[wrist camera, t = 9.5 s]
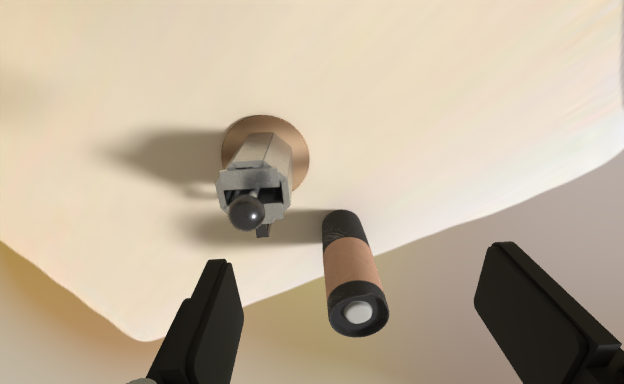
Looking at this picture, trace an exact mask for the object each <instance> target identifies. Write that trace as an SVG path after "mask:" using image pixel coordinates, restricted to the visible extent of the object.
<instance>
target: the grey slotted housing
mask: <svg viewBox="0 0 624 384" xmlns="http://www.w3.org/2000/svg"><path fill="white" fill-rule="evenodd" d="M261 166H262V167H261ZM245 167H258V168H245ZM219 174H220V177H219V178H218V180H217V181H216V183H215V186H216V190H217V194H218V198H219V203H220V207H221V209H222V210H223V211H224V212H226V213H227V214H228V209H229V206H230V204H231V203H232V201H233V200H234V199H236V198H237V197H239V196H242V195H249V193H250V191H251V189H252V188H260V189H259V192H258V196H257V198H258V199H259V200H260V201H261V202H262V203H263V205H264V208H265V218H264V221H263V223H262V224H261V225H260V226H259V227H258V228H257V229H256V235H257V238H261V237H269V232H270V227H271V224H272V223H274V222H275V221H276V220H281V219H284V213H283V212H284V211H285V210H286V209H287V208H288V207H289V206H290V204H291V194H292V184H293V174H294V163H293V153H292V147H291V146H290V145H288V144H287V143H286V142H285V141H284V140H282V139H281V138H280V137H279V136H277V135H276V134H275V133H257V134H250V135H249V136H248V137H247V138H246V140H245V141H244V142H243V143H242V145H241V146H240V147H239V148H238V150H237V151H236V152H235V154H234V155H233V157H232V158H231V160H230V161H229V163H228V165H227V166H226V168H225V169H224V170H220V171H219Z"/></svg>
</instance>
